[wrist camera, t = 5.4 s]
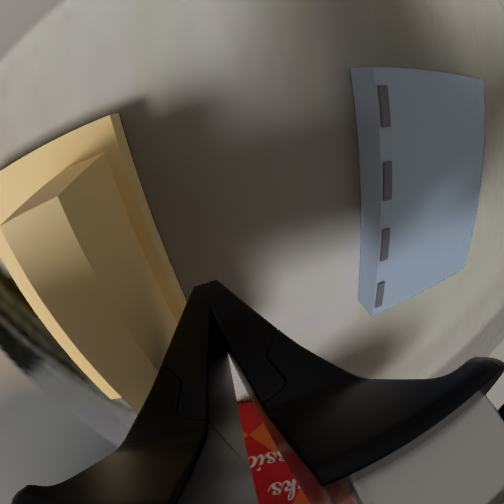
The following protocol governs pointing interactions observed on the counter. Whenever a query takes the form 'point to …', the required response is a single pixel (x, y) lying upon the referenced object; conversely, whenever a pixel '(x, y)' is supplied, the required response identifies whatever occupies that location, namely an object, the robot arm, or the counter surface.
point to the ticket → (415, 178)
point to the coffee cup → (267, 462)
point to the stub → (92, 257)
